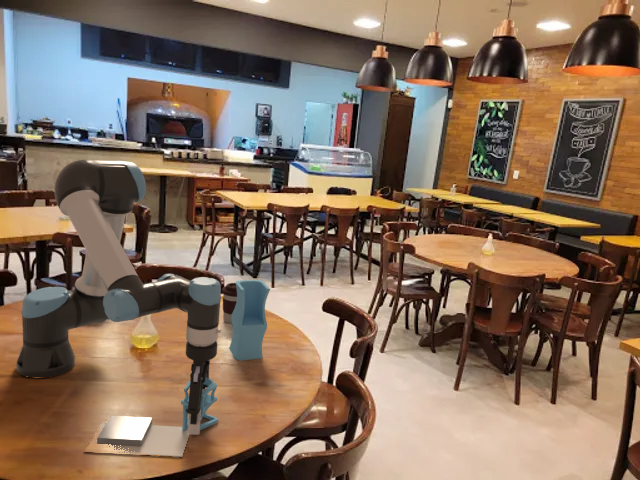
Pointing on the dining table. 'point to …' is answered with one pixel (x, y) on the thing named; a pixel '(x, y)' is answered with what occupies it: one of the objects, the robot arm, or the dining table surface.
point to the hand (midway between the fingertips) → (197, 422)
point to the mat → (159, 442)
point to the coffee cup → (229, 301)
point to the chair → (205, 404)
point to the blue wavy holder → (249, 320)
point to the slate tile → (125, 430)
